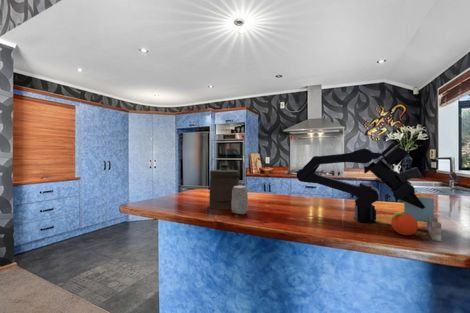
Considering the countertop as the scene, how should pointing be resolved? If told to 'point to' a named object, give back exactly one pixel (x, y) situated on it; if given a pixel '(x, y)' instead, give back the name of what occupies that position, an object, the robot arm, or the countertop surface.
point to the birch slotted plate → (434, 228)
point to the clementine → (404, 223)
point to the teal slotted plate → (421, 213)
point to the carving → (239, 199)
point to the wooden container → (222, 187)
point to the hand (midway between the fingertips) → (423, 207)
